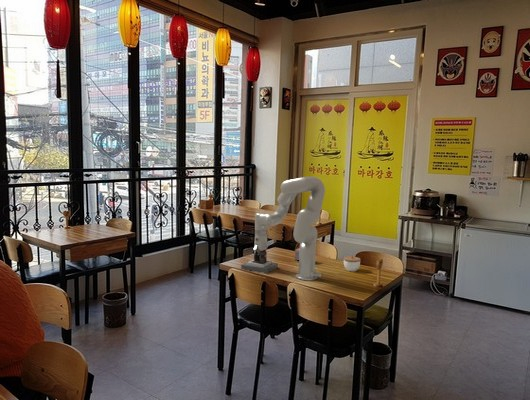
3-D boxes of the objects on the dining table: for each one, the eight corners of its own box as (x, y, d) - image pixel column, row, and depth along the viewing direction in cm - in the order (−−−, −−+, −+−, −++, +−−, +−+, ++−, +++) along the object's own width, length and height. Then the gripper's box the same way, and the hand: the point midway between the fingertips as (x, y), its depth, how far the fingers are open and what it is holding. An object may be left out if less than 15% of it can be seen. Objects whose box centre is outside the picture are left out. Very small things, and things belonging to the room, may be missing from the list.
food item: (315, 262, 277) (316, 248, 276) (308, 264, 271) (308, 250, 270) (300, 258, 287) (300, 245, 286) (292, 260, 281) (293, 246, 280)
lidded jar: (339, 269, 260) (340, 255, 259) (349, 267, 267) (349, 253, 266) (354, 273, 252) (354, 258, 251) (363, 270, 260) (363, 256, 259)
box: (258, 264, 253) (259, 252, 253) (253, 262, 258) (253, 251, 258) (266, 263, 257) (266, 251, 256) (261, 261, 262) (261, 250, 261)
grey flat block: (277, 267, 261) (277, 260, 261) (266, 273, 247) (266, 266, 246) (253, 263, 269) (253, 257, 269) (241, 269, 255) (241, 262, 255)
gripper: (259, 235, 246) (259, 263, 248) (272, 230, 262) (271, 257, 263) (248, 233, 250) (248, 261, 251) (261, 229, 265) (261, 256, 267)
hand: (260, 259), depth 257 cm, fingers closed on box, 8 cm apart
